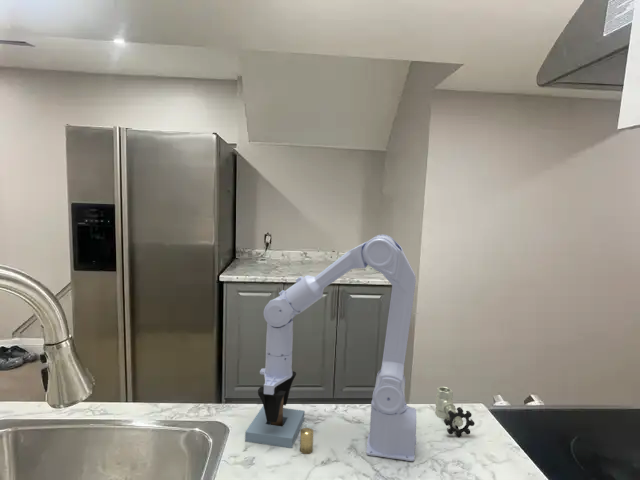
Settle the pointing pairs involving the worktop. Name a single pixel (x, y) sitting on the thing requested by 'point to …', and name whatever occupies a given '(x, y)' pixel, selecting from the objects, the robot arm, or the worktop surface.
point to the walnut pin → (280, 417)
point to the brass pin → (306, 441)
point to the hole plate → (275, 429)
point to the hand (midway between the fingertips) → (276, 412)
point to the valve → (451, 412)
